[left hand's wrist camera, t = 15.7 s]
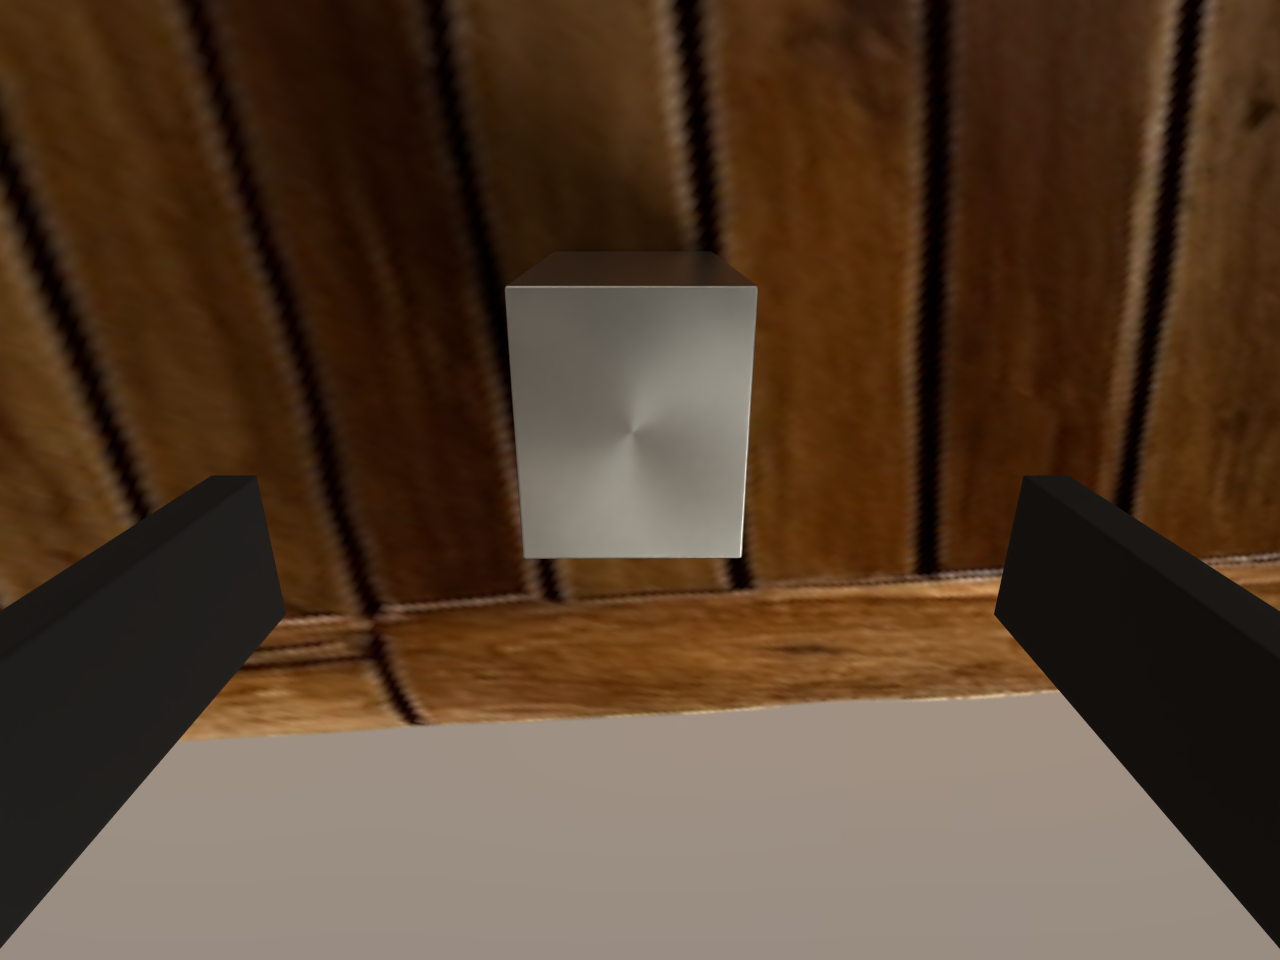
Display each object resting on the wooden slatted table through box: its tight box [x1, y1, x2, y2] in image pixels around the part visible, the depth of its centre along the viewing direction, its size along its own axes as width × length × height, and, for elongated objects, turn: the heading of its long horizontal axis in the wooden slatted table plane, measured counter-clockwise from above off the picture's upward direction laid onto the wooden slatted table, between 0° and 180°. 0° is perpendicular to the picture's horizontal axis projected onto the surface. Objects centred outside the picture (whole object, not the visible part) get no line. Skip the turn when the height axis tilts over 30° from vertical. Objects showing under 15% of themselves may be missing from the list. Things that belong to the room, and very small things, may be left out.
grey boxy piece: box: [505, 251, 758, 559], centre depth 23 cm, size 6×7×11 cm
